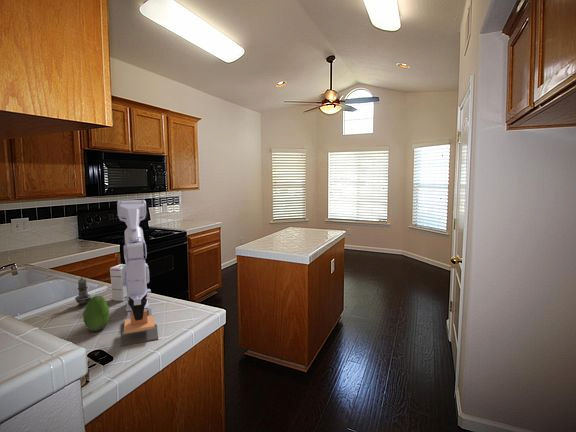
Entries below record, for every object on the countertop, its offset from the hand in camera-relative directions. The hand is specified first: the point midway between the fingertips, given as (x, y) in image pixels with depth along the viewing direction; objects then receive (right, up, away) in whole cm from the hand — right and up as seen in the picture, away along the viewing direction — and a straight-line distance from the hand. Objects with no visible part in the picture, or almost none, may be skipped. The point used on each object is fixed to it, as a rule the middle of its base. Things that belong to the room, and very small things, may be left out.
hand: (139, 317), depth 107 cm
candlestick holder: (-34, -3, +25) cm, 42 cm away
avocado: (-17, -6, +5) cm, 18 cm away
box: (-4, -5, +10) cm, 12 cm away
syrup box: (-22, -2, +32) cm, 39 cm away
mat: (0, -6, +1) cm, 6 cm away
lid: (0, -3, 0) cm, 3 cm away
